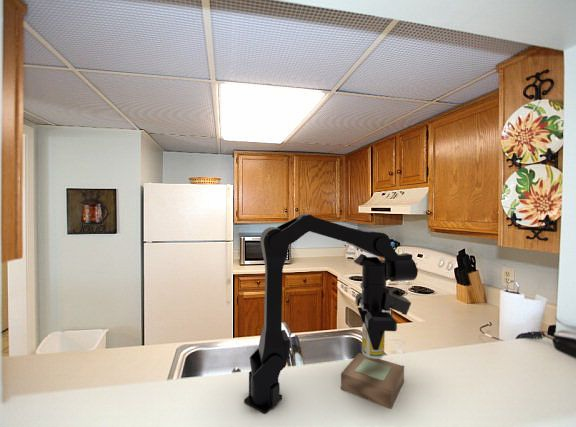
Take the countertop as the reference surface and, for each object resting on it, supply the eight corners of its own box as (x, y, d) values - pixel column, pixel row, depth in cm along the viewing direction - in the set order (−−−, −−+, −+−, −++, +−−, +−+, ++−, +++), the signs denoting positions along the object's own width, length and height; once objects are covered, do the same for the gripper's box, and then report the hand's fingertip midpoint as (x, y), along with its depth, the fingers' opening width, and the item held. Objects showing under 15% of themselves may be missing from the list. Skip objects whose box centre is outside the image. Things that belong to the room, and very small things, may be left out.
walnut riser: (341, 389, 70) (341, 372, 70) (358, 366, 80) (358, 352, 80) (391, 408, 63) (391, 390, 63) (403, 381, 73) (404, 365, 73)
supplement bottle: (357, 354, 71) (358, 315, 71) (368, 346, 75) (368, 310, 75) (378, 362, 68) (378, 321, 67) (388, 353, 72) (388, 315, 71)
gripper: (422, 294, 61) (420, 366, 61) (396, 274, 80) (395, 329, 80) (368, 292, 62) (367, 363, 62) (355, 273, 81) (354, 328, 81)
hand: (373, 344), depth 71 cm, fingers closed on supplement bottle, 5 cm apart
